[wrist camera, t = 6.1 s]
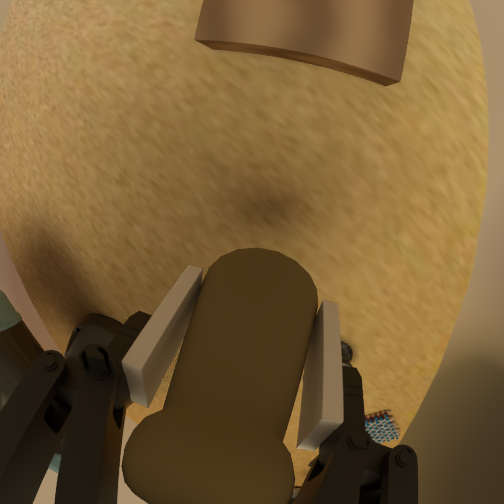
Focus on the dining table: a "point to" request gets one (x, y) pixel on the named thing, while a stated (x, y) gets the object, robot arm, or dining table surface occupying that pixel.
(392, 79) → the walnut base
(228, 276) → the olive brown knobbed peg
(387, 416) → the woven mat
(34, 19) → the dining table surface
